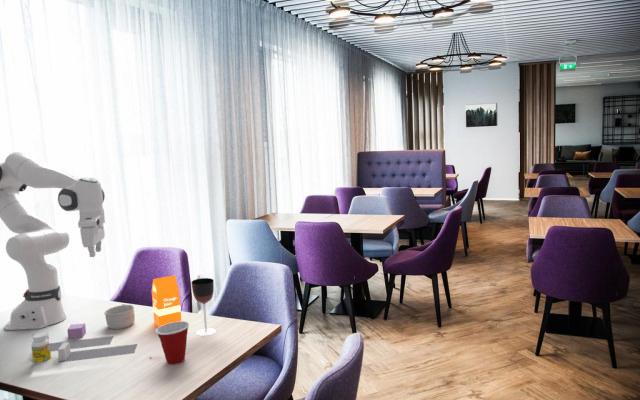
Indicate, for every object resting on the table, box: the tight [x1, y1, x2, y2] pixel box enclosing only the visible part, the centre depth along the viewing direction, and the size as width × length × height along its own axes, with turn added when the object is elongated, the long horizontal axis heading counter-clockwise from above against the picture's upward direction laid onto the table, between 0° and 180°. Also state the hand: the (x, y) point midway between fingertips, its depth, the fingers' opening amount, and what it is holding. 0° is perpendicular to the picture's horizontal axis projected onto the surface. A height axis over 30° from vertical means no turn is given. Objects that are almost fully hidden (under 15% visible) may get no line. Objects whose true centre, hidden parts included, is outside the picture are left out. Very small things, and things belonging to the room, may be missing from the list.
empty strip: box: [57, 341, 138, 363], centre depth 170 cm, size 24×8×5 cm, turn 103°
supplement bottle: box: [30, 332, 52, 366], centre depth 167 cm, size 5×5×10 cm
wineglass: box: [191, 277, 217, 337], centre depth 188 cm, size 8×9×20 cm
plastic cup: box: [155, 320, 190, 365], centre depth 164 cm, size 11×11×12 cm
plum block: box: [66, 322, 87, 340], centre depth 187 cm, size 5×5×5 cm
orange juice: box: [151, 274, 182, 328], centre depth 196 cm, size 8×9×20 cm
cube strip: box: [45, 333, 114, 352], centre depth 179 cm, size 24×8×5 cm, turn 103°
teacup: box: [104, 303, 136, 330], centre depth 198 cm, size 14×11×8 cm
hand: (95, 254), depth 194 cm, fingers open, 8 cm apart
